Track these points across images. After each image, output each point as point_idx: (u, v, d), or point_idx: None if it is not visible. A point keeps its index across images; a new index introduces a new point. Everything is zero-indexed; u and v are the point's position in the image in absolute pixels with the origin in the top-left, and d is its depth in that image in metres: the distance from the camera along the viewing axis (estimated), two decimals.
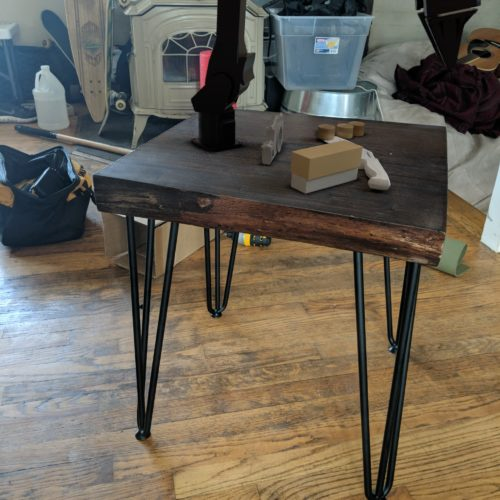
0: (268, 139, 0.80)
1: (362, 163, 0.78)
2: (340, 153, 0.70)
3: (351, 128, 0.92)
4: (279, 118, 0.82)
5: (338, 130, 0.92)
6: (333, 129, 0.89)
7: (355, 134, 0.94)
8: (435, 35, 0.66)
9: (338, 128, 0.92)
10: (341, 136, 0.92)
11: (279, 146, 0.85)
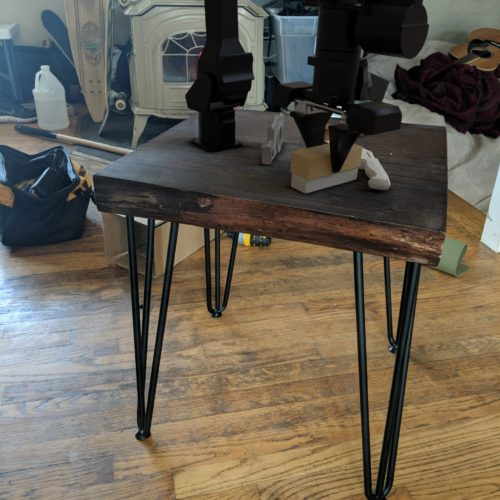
0: (268, 139, 0.80)
1: (362, 163, 0.78)
2: None
3: None
4: (279, 118, 0.82)
5: None
6: None
7: None
8: (338, 143, 0.66)
9: None
10: None
11: (279, 146, 0.85)
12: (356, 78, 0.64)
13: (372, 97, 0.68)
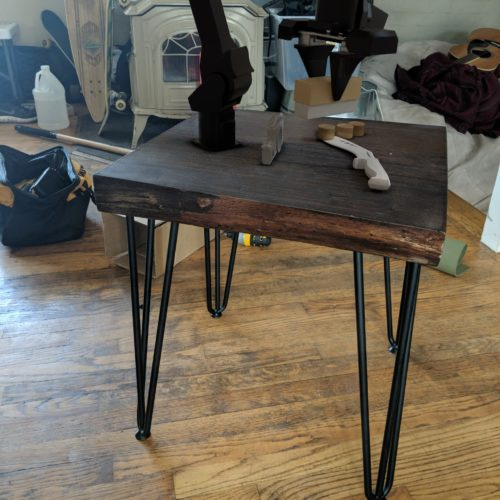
0: (268, 139, 0.80)
1: (362, 163, 0.78)
2: None
3: (351, 128, 0.92)
4: (279, 118, 0.82)
5: (338, 130, 0.92)
6: (333, 129, 0.89)
7: (355, 134, 0.94)
8: (338, 69, 0.70)
9: (338, 128, 0.92)
10: (341, 136, 0.92)
11: (279, 146, 0.85)
12: (356, 7, 0.69)
13: (371, 28, 0.72)
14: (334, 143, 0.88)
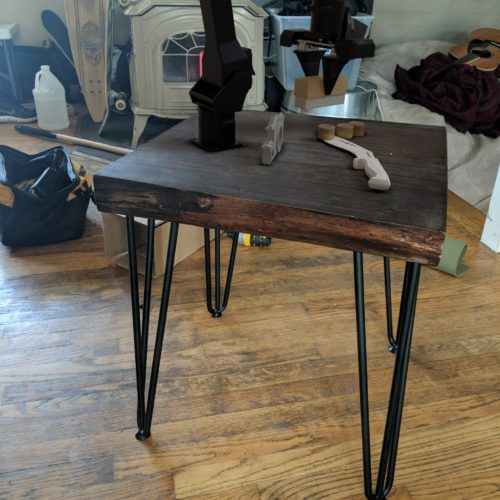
0: (268, 139, 0.80)
1: (362, 163, 0.78)
2: None
3: (351, 128, 0.92)
4: (279, 118, 0.82)
5: (338, 130, 0.92)
6: (333, 129, 0.89)
7: (355, 134, 0.94)
8: (329, 70, 0.89)
9: (338, 128, 0.92)
10: (341, 136, 0.92)
11: (279, 146, 0.85)
12: (342, 21, 0.88)
13: (354, 37, 0.91)
14: (334, 143, 0.88)
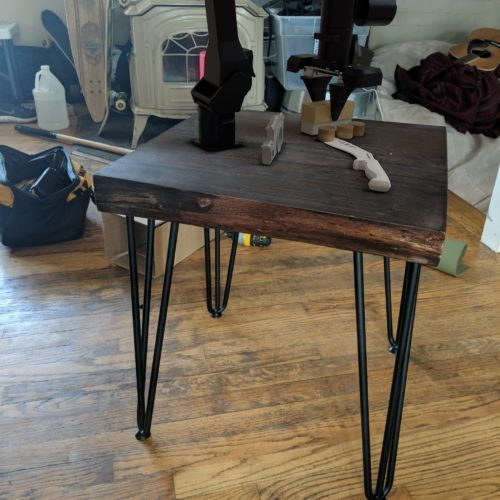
0: (268, 139, 0.80)
1: (362, 165, 0.78)
2: None
3: (351, 128, 0.92)
4: (279, 118, 0.82)
5: (338, 130, 0.92)
6: (333, 130, 0.89)
7: (355, 134, 0.94)
8: (336, 97, 0.89)
9: (338, 128, 0.92)
10: (341, 136, 0.92)
11: (279, 146, 0.85)
12: (349, 48, 0.88)
13: (361, 64, 0.92)
14: (334, 144, 0.88)
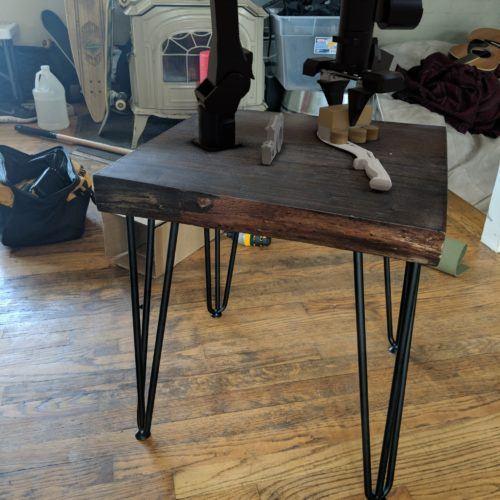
0: (268, 139, 0.80)
1: (362, 163, 0.78)
2: None
3: (364, 132, 0.90)
4: (279, 118, 0.82)
5: (351, 134, 0.90)
6: (346, 134, 0.87)
7: (369, 138, 0.92)
8: (355, 102, 0.86)
9: (351, 132, 0.90)
10: (354, 140, 0.90)
11: (279, 146, 0.85)
12: (369, 52, 0.85)
13: (381, 68, 0.89)
14: None
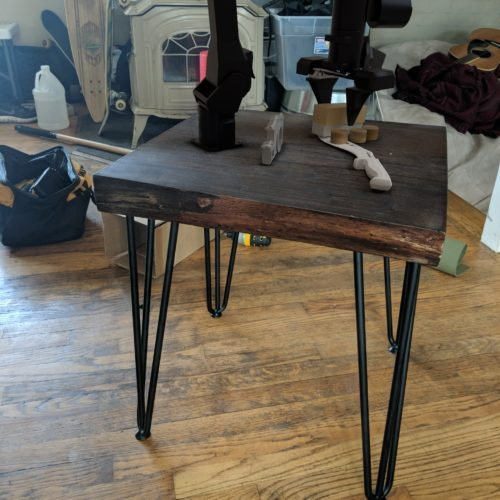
0: (268, 139, 0.80)
1: (362, 163, 0.78)
2: None
3: (364, 132, 0.90)
4: (279, 118, 0.82)
5: (351, 134, 0.90)
6: (346, 134, 0.87)
7: (369, 138, 0.92)
8: (353, 101, 0.87)
9: (351, 132, 0.90)
10: (354, 140, 0.90)
11: (279, 146, 0.85)
12: (361, 51, 0.86)
13: (373, 66, 0.90)
14: None
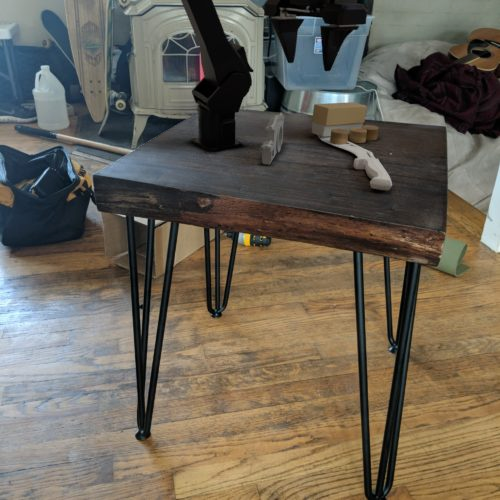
0: (268, 139, 0.80)
1: (363, 163, 0.78)
2: (350, 108, 0.91)
3: (364, 132, 0.90)
4: (279, 118, 0.82)
5: (351, 134, 0.90)
6: (346, 134, 0.87)
7: (369, 138, 0.92)
8: (328, 41, 0.80)
9: (351, 132, 0.90)
10: (354, 140, 0.90)
11: (279, 146, 0.85)
12: None
13: None
14: None
